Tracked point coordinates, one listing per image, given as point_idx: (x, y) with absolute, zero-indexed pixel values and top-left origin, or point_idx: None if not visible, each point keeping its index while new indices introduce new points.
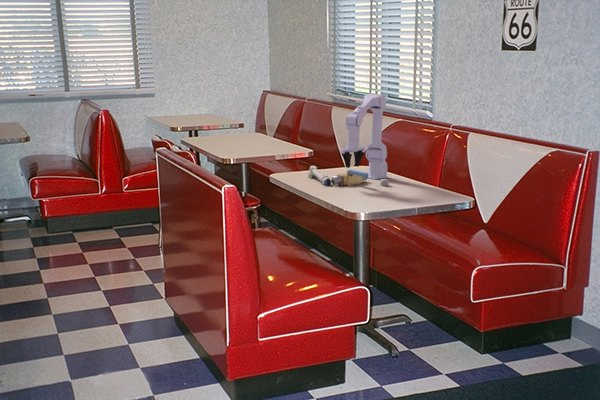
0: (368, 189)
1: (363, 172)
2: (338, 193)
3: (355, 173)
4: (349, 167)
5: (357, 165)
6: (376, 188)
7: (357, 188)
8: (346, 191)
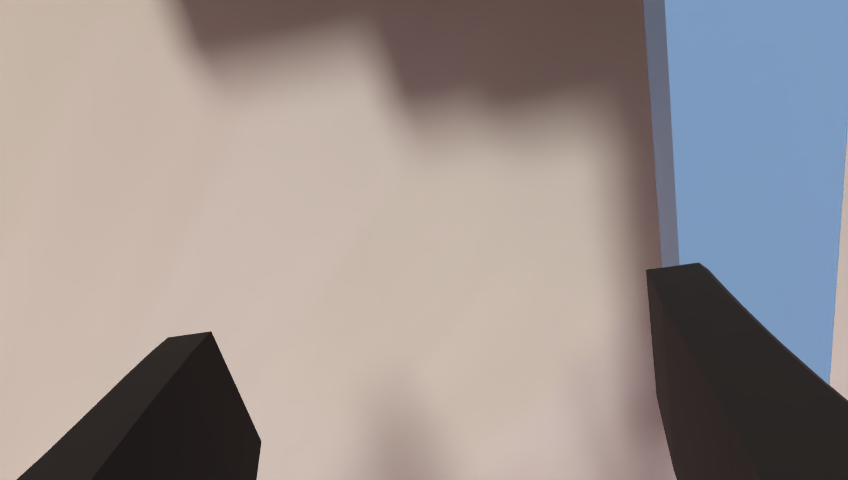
0: (603, 356)
1: (780, 321)
2: (14, 400)
3: (658, 91)
4: (251, 450)
5: (661, 411)
6: None
7: (478, 232)
8: None
